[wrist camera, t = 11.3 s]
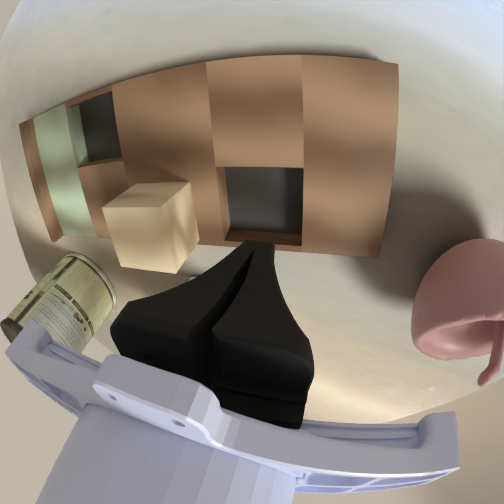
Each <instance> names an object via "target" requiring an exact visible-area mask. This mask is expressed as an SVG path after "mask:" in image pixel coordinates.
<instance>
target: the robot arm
mask: <svg viewBox="0 0 504 504" xmlns="http://www.w3.org/2000/svg"><path fill="white" fill-rule="evenodd" d="M274 254H275V245H274V244H273V243H267V242H260V241H252V240H246V241H244V242H243V243H242V244H241V245H239V246H238V247H237V248H236V249H235V250H234V251H232V252H231V253H230V254H229V255H228V256H226V257H225V258H224V259H223V260H221V261H220V262H219V263H217V264H216V265H214V266H213V267H212V268H210V269H209V270H207V271H206V272H204V273H203V274H201V275H199V276H197V277H190V278H189V280H188V282H186V283H184V284H182V285H179V286H177V287H175V288H173V289H170V290H168V291H165V292H162V293H159V294H156V295H153V296H150V297H146V298H142V299H138V300H134V301H129V302H128V303H127V304H126V306H125V307H124V308H123V309H122V311H121V312H120V314H119V315H118V316H117V318H116V319H115V320H114V322H113V323H112V325H111V327H110V333H111V336H112V339H113V341H114V343H115V345H116V347H117V349H118V350H119V352H120V354H121V356H120V355H116V354H110V355H109V356H107V357H106V359H105V360H104V362H103V363H100V362H98V361H95V360H93V359H91V358H89V357H87V356H85V355H83V354H81V353H79V352H77V351H75V350H73V349H71V348H69V347H67V346H65V345H63V344H61V343H59V342H58V341H56V340H54V339H52V336H51V335H50V333H49V332H48V330H47V329H46V328H45V327H44V326H42V325H41V324H39V323H37V322H35V321H34V320H30V321H29V322H28V323H27V325H26V326H25V327H24V328H23V329H22V331H21V332H20V333H19V334H18V336H17V337H16V338H15V339H14V341H13V342H12V343H11V345H10V346H9V347H8V349H7V350H6V351H5V354H6V355H7V357H8V358H9V359H10V360H11V361H12V363H13V364H14V365H15V366H16V367H17V368H18V370H19V371H20V372H21V373H22V374H23V375H24V376H25V377H26V378H27V380H28V381H29V382H30V383H32V384H33V385H34V386H35V387H37V388H38V389H39V390H41V391H42V392H43V393H45V394H46V395H47V396H48V397H50V398H51V399H53V400H54V401H55V402H57V403H58V404H59V405H61V406H62V407H64V408H65V409H67V410H68V411H69V412H71V413H72V414H74V415H75V416H77V417H78V418H79V419H78V421H77V423H76V425H75V427H74V428H73V430H72V432H71V434H70V435H69V437H68V439H67V441H66V443H65V445H64V447H63V449H62V451H61V452H60V454H59V456H58V458H57V460H56V463H55V464H54V466H53V468H52V470H51V472H50V474H49V477H48V478H47V481H46V483H45V485H44V487H43V489H42V491H41V493H40V496H39V498H38V500H37V502H36V504H292V499H293V496H294V492H300V493H354V492H368V491H379V490H388V489H396V488H403V487H410V486H417V485H423V484H426V483H429V482H431V481H433V480H436V479H438V478H440V477H443V476H445V475H447V474H449V473H451V472H453V471H456V470H458V469H459V468H460V453H459V452H460V451H459V440H458V430H457V421H456V414H455V412H443V413H433V414H429V415H427V416H425V417H423V418H422V419H421V420H420V421H419V422H418V423H411V424H410V423H409V424H354V423H336V422H324V421H314V420H305V419H303V416H304V409H305V404H306V401H307V395H308V390H309V388H310V385H311V383H312V380H313V377H314V360H313V354H312V350H311V346H310V342H309V339H308V338H307V337H306V335H305V334H304V333H303V331H302V330H301V329H300V327H299V326H298V324H297V323H296V321H295V319H294V318H293V316H292V314H291V312H290V310H289V308H288V306H287V304H286V302H285V300H284V298H283V295H282V292H281V290H280V287H279V283H278V280H277V276H276V271H275V265H274Z"/></svg>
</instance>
